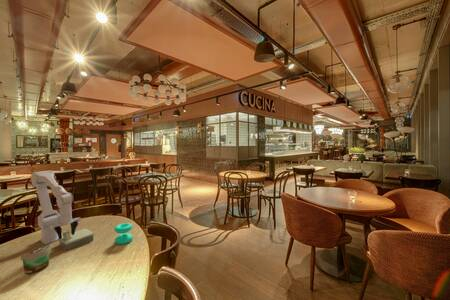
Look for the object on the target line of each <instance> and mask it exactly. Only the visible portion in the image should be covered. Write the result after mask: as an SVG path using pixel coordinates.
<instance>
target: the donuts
mask: <svg viewBox="0 0 450 300" xmlns="http://www.w3.org/2000/svg"><path fill="white" fill-rule="evenodd" d="M132 229H133V224H132V223H129V222H123V223H120V224H116V226H115V227H114V232H115V233H117V234H119V235H117V236H116V237H115V238H114V243H116V244H117V245H125V244H129V243H130V242H131V241H132V240H133V239H134V236H133V234H132V233H129V232H130V231H131V230H132Z"/></svg>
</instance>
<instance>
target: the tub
mask: <svg viewBox="0 0 450 300" xmlns="http://www.w3.org/2000/svg"><path fill="white" fill-rule="evenodd" d="M92 241H94V235H92V236H89V237H86V238H83V239H81V240H78V241H75V242H72V243H70V244H67V245H65V244H64V243H63V242H61V241H60V240H58V244H59V246H61V247H62V248H63V249H65V250H66V251H68V250H71V249H73V248H76V247H79V246H81V245H84V244H86V243H90V242H92Z"/></svg>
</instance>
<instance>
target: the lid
mask: <svg viewBox="0 0 450 300" xmlns="http://www.w3.org/2000/svg"><path fill="white" fill-rule="evenodd" d="M92 235H93V236H94V235H95V233H94V232H93V231H91V230H89V229H88V228H82V229H79V230H77V231H76V230H75V233H74V235H72V234H71V231H69V230H64V231H63V230H62V239H59V237H58V240H57V241H59V240H60V241H61V242H63V243H64V244H65V245H67V244H70V243H72V242H75V241H78V240H81V239H83V238H86V237H89V236H92Z"/></svg>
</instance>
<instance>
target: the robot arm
mask: <svg viewBox="0 0 450 300" xmlns="http://www.w3.org/2000/svg"><path fill="white" fill-rule="evenodd" d="M30 180H31V181H30V182H31V185H32V186H33V187H35V189H36V192H37V197H38V200H39V204H40V208H41V212H40V214H39V215H38V216H37V225H38V227H39V229H40V232H41V233H40V235H41V238H40V239H39V241H40V242H41V243H42V244H43V245H47V243H49V244H50V243H52V242H55V241H59V240H58V237H59V239H62V236H63V234H62V233H63V230H62V228H61V227H64V226H66V225H70V230H71V231H70V233H71V234H72V235H74V233H75V232H76V229H77V227H78V225H79V222H81V219H82V218H81V217H80V216H79V217H75V218H73V216H72V215H73V214H72V213H73V212H72V211H73V210H72V202H74V195H73V193H72V192H69V191H67V190H66V189H65V188H64V187H63V186H62V185H60V184H58V183H57V181H56V179H55V172H54V171H53V170H52V169H50V170H43V171H33V172H32V173H31V174H30ZM48 187H49V188H50V189H51V190H50V192H51V193H52V195H53V196H54V197H55V198H56V200H55V201H56V204H57V208H58V210H59V211H57V210H55V209H53V205H52V202H51V199H50V193H49V190H48Z"/></svg>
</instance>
